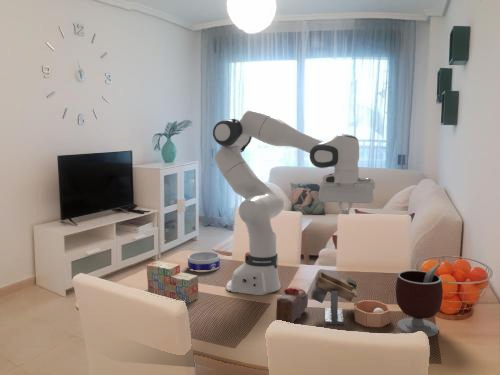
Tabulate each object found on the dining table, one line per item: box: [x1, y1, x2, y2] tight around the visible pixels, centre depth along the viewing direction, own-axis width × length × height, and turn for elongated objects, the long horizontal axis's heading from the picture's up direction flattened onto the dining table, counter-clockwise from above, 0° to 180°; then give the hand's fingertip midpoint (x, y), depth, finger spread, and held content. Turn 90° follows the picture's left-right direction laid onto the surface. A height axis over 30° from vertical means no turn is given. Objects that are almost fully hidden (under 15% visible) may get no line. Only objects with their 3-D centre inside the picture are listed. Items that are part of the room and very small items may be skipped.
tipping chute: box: [310, 270, 358, 304], centre depth 149 cm, size 15×18×8 cm
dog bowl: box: [187, 251, 221, 270], centre depth 202 cm, size 15×15×6 cm
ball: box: [373, 308, 384, 313], centre depth 142 cm, size 4×4×4 cm
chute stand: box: [324, 289, 345, 326], centre depth 144 cm, size 6×11×11 cm, turn 170°
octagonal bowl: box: [353, 299, 391, 328], centre depth 142 cm, size 11×11×4 cm
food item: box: [275, 286, 309, 324], centre depth 146 cm, size 14×8×10 cm, turn 154°
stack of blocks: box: [146, 260, 199, 303], centre depth 166 cm, size 21×6×12 cm, turn 58°
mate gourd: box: [395, 263, 444, 338], centre depth 135 cm, size 16×14×20 cm
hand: (344, 214), depth 160 cm, fingers closed
